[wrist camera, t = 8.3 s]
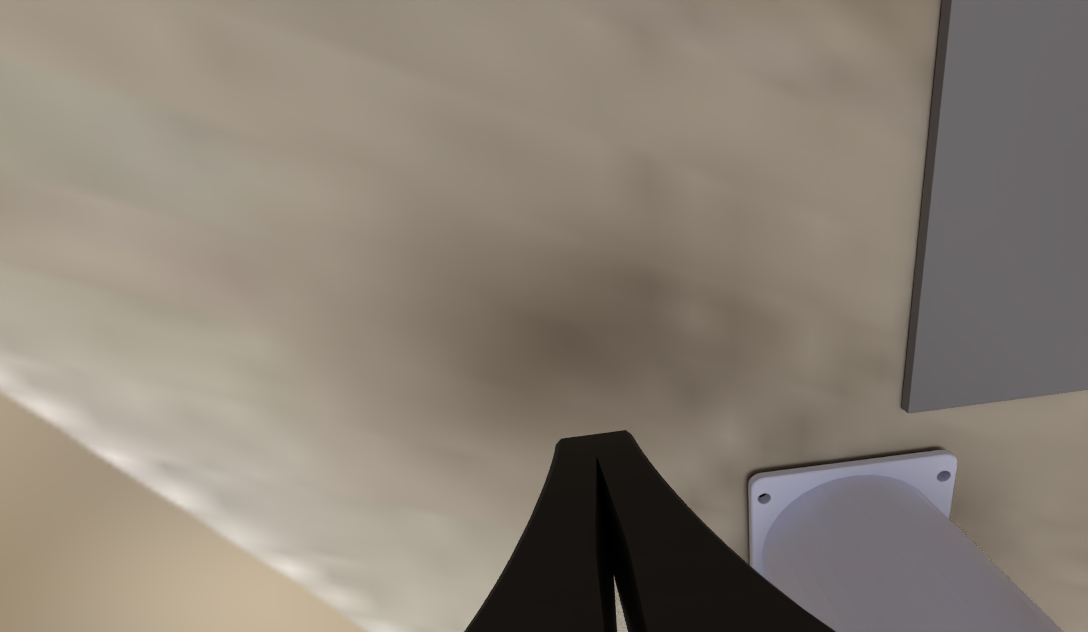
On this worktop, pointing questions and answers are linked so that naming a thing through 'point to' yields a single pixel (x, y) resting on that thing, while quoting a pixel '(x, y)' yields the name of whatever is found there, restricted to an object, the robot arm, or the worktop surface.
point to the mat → (1003, 209)
